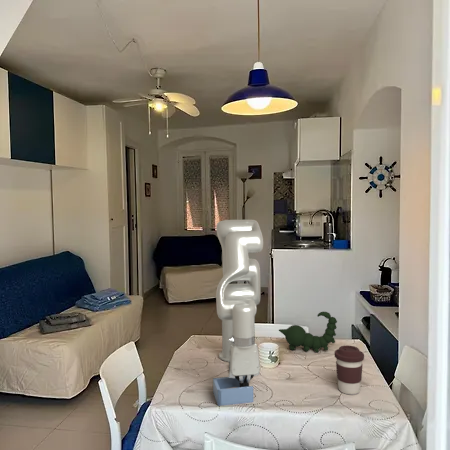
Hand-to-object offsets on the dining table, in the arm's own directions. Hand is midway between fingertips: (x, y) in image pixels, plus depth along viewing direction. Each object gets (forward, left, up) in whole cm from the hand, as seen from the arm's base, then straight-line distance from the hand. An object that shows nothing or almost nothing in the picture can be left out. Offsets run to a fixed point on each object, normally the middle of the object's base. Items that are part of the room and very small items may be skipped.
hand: (244, 392), depth 143 cm
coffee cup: (+4, +37, -1) cm, 37 cm away
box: (0, -4, -1) cm, 4 cm away
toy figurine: (-37, +38, -1) cm, 53 cm away
